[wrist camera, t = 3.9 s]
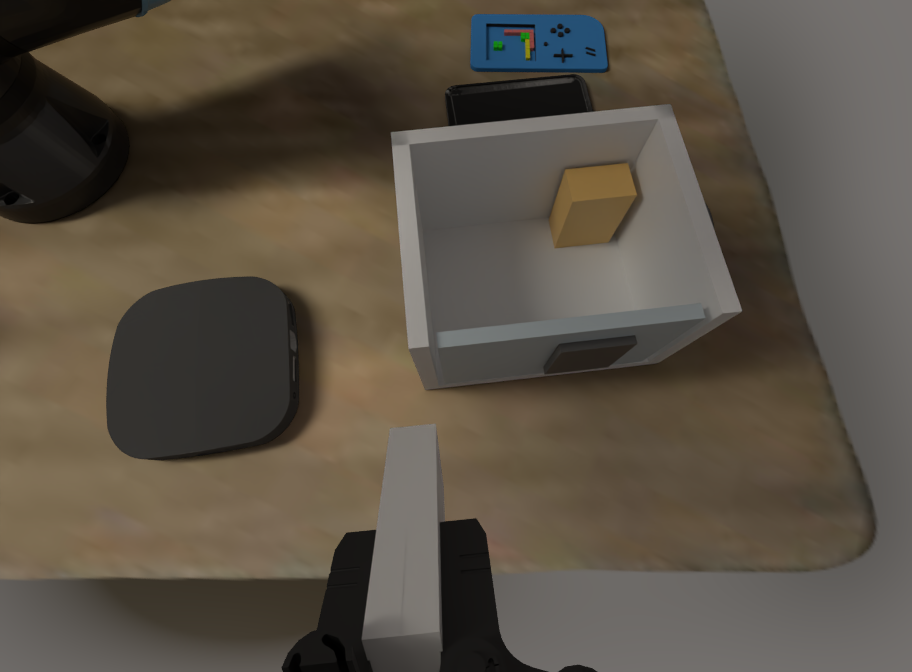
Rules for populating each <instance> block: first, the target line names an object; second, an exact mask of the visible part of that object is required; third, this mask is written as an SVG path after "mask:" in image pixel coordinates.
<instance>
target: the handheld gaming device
mask: <svg viewBox="0 0 912 672" xmlns="http://www.w3.org/2000/svg"><path fill="white" fill-rule="evenodd" d="M607 67H608V63H607V54H606V45H605V35H604V29H603V26H602V25H601V23H600V22H599V21H598V20H596V19H595V18H593V17H590V16H586V15H515V14H476V15H474V16H473V17H472V25H471V69H472V70H474V71H477V72H581V73H603V72H605V71H606V70H607Z"/></svg>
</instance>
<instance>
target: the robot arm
mask: <svg viewBox="0 0 912 672" xmlns="http://www.w3.org/2000/svg"><path fill="white" fill-rule="evenodd" d="M169 1H171V0H0V216H1V217H4V218H6V219H9V220H13V221H17V222H25V223H38V222H46V221H51V220H56V219H59V218H62V217H65V216H68V215H71V214H73V213H75V212H77V211H79V210H81V209H83V208H85V207H86V206H88V205H90V204H91V203H93V202H94V201H95V200H97V199H98V198H99V197H100V196H102V195H103V194H104V193H105V192H106V191H107V190H108V189H109V188H110V187H111V186H112V185H113V183H114V182H115V181H116V179H117V178H118V177H119V175H120V173H121V172H122V170H123V168H124V165H125V163H126V160H127V157H128V152H129V138H128V133H127V130H126V128H125V126H124V124H123V123H122V121H121V120H120V119H119V118H118V117H117V116H116V115H115V114H114V113H113V111H112V110H111V109H110V108H109V107H108V106H107V105H106V104H105V103H104V102H103V101H102V100H100V99H99V98H98V97H97V96H95V95H94V94H92V93H91V92H89V91H87V90H86V89H84V88H82V87H81V86H79V85H77V84H76V83H74V82H73V81H71V80H69V79H68V78H66V77H64V76H63V75H61V74H59V73H58V72H56V71H55V70H53V69H51V68H50V67H48V66H46V65H45V64H43V63H41V62H40V61H38V60H37V59H35V58H34V57H33V56H32V55H31V54H30V53H29V52H30V51H32V50H35V49H38V48H41V47H44V46H47V45H50V44H53V43H56V42H59V41H61V40H64V39H67V38H70V37H73V36H76V35H79V34H82V33H85V32H88V31H91V30H94V29H97V28H100V27H104V26H107V25H110V24H113V23H116V22H119V21H122V20H125V19H129V18H132V17H135V16H136V17H141V16H144V15H145V14H146V13H147V11H148V10H151V9H153V8H156V7H158V6H160V5H163V4H165V3H167V2H169ZM282 670H283V672H547V671H543V670H540V669H537V668H533V667H530V666H528V665H526V664H523V663H522V662H520V661H519V660H517V659H516V658H515V657H514V656H513V655H512V654H511V653H510V652H509V651H508V649H507V648H506V646H505V644H504V642H503V640H502V638H501V634H500V631H499V625H498V617H497V610H496V603H495V595H494V588H493V581H492V573H491V566H490V559H489V552H488V544H487V537H486V533H485V531H484V530H483V528H482V527H481V525H480V524H479V522H478V520H477V519H476V518H475V519H466V520H456V521H446V522H445V511H444V486H443V478H442V470H441V462H440V454H439V446H438V438H437V430H436V424H429V425H419V426H409V427H398V428H390V433H389V440H388V448H387V455H386V462H385V470H384V477H383V485H382V492H381V499H380V507H379V514H378V522H377V529H376V530H369V531H359V532H349V533H346V534H345V536H344V537H343V539H342V540H341V542H340V543H339V545H338V546H337V548H336V549H335V552H334V556H333V561H332V565H331V573H330V574H329V579H328V583H327V590H326V592H325V596H324V601H323V605H322V609H321V614H320V618H319V623H318V628H317V630H316V631H312V632H310V633H309V634H307V635H306V636H304V637H303V638H302V639H300V640H299V641H298V642H297V643H296V644H295V646H294V647H293V648H292V649H291V650H290V652H289V653H288V655H287V657H286V659H285V661H284V664H283V666H282ZM559 672H597V671H595V670H594V669H592V668H589V667H585V666H582V665H573V666H567V667H564V668H563V669H562V670H560V671H559Z"/></svg>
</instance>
